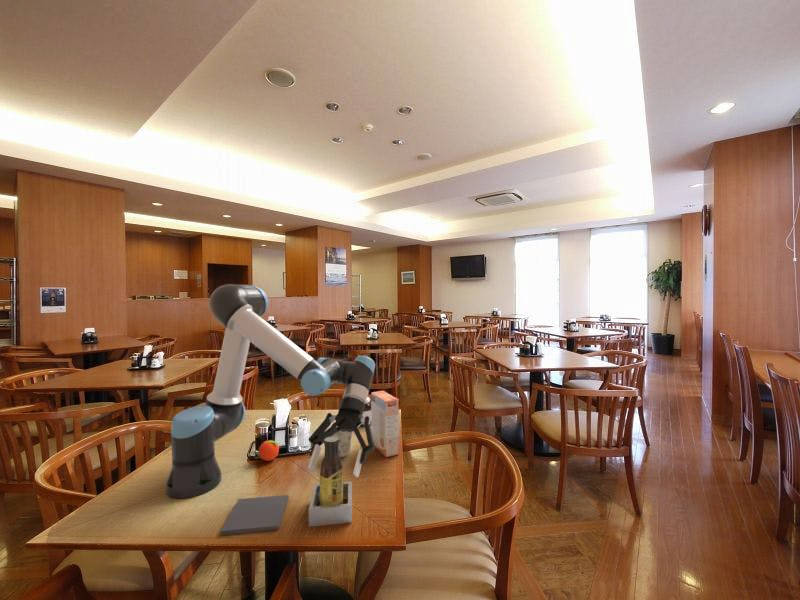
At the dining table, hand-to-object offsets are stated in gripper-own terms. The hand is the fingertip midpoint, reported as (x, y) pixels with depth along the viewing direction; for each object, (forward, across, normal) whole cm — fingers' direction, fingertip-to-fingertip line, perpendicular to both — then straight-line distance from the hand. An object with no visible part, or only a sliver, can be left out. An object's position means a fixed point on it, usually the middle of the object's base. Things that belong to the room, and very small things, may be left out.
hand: (332, 472), depth 97 cm
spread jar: (-36, +18, -52) cm, 65 cm away
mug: (-14, +13, -30) cm, 35 cm away
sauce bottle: (+8, +1, -8) cm, 11 cm away
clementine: (-8, +36, -23) cm, 44 cm away
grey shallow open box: (+8, +1, -8) cm, 11 cm away
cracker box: (-21, -1, -37) cm, 42 cm away
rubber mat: (+12, +19, -3) cm, 23 cm away
